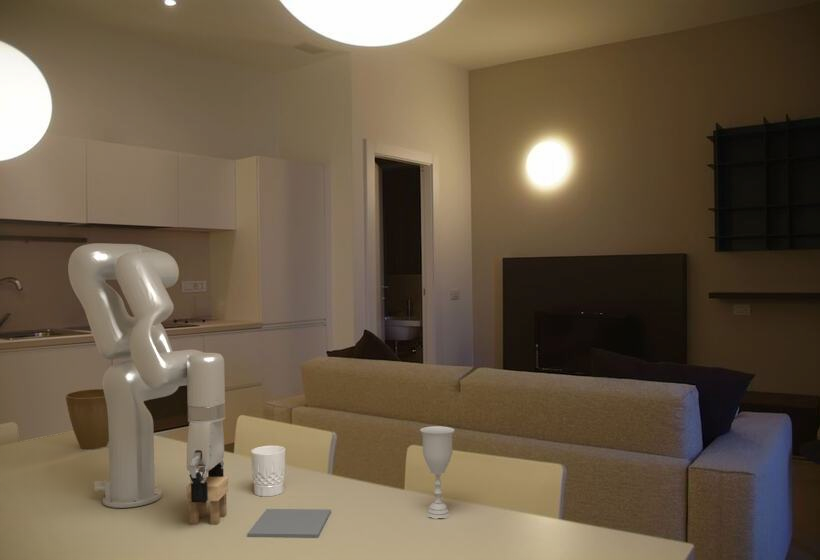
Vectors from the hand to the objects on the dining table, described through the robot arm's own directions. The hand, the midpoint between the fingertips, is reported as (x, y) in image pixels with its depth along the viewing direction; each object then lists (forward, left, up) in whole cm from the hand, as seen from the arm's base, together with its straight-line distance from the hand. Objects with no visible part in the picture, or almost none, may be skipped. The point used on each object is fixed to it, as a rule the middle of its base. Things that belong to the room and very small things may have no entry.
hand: (208, 494), depth 146 cm
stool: (0, 0, -5) cm, 5 cm away
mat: (+18, -2, -5) cm, 19 cm away
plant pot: (-56, +59, -6) cm, 82 cm away
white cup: (+8, +18, -6) cm, 20 cm away
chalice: (+48, +4, -6) cm, 48 cm away
